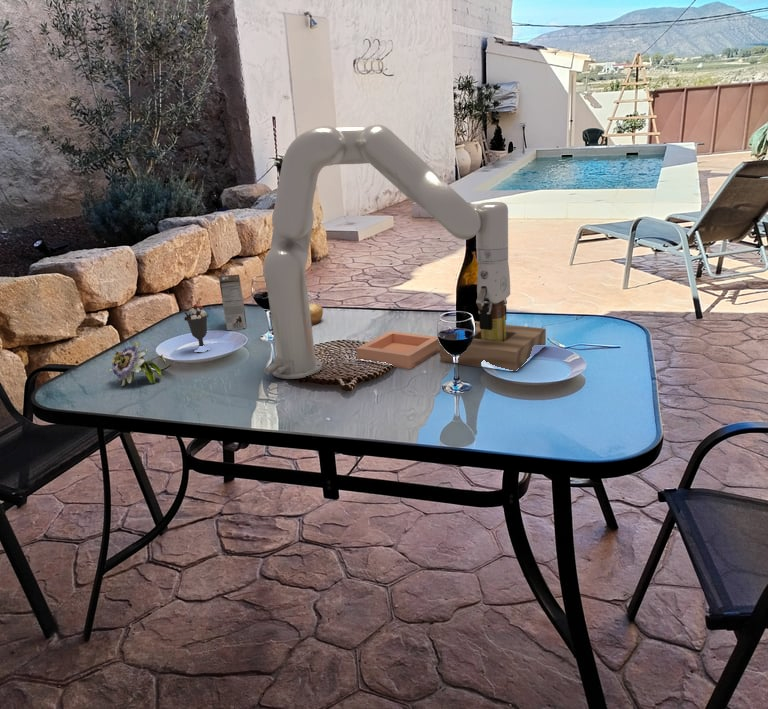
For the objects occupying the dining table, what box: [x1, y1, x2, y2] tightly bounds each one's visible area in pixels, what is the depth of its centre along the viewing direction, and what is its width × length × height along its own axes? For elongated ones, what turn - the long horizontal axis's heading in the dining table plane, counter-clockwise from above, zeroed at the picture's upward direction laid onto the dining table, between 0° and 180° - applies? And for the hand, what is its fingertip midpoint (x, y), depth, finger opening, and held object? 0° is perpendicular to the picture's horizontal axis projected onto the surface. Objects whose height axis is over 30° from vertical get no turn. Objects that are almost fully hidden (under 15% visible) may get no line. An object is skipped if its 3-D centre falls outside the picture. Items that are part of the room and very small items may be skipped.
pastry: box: [308, 294, 324, 326], centre depth 199 cm, size 12×12×9 cm
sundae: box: [184, 297, 209, 347], centre depth 177 cm, size 7×7×15 cm
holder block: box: [439, 320, 547, 371], centre depth 158 cm, size 20×20×5 cm
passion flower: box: [108, 341, 167, 387], centre depth 157 cm, size 11×11×12 cm
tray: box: [355, 330, 440, 370], centre depth 162 cm, size 16×16×4 cm
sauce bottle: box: [481, 300, 507, 342], centre depth 155 cm, size 6×6×20 cm
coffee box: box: [218, 274, 248, 331], centre depth 198 cm, size 9×6×16 cm
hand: (493, 324), depth 156 cm, fingers open, 7 cm apart
